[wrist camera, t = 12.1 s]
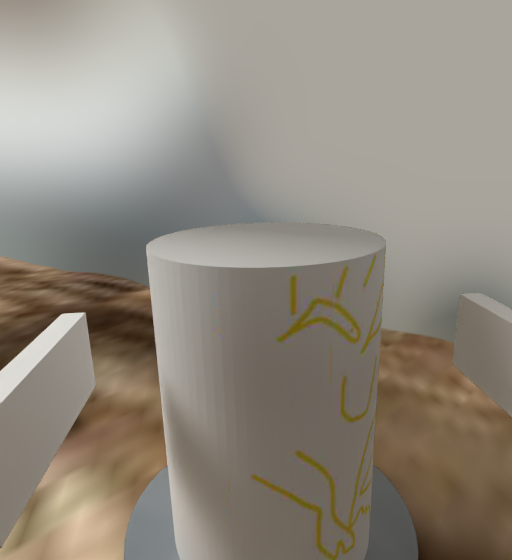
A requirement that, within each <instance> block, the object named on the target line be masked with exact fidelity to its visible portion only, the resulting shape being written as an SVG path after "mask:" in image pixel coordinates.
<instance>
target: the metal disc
mask: <svg viewBox="0 0 512 560" xmlns="http://www.w3.org/2000/svg"><path fill="white" fill-rule="evenodd" d="M124 560H180V557H179V555H178V552H177V548H176V543H175V534H174V524H173V514H172V504H171V494H170V484H169V473H168V465H167V466H166V467H165V468H164V469H163V470H162V471H161V472H159V473H158V475H157V476H156V477H155V478H154V479H153V480H152V481H151V482H150V484H149V485H148V486H147V488H146V489H145V491H144V492H143V493H142V495H141V496H140V498H139V500H138V502H137V504H136V506H135V508H134V510H133V512H132V515H131V518H130V521H129V524H128V527H127V532H126V538H125V549H124ZM364 560H418V545H417V535H416V532H415V528H414V524H413V520H412V518H411V515H410V513H409V511H408V508H407V506H406V504H405V502H404V501H403V499H402V497H401V496H400V494H399V492H398V491H397V490H396V488H395V487H394V486H393V485H392V483H391V482H390V481H389V480H388V478H387V477H386V476H385V475H384V474H383V473H382V472H381V471H380V470H379V469H377V468H376V467H375V466H374V465H373V475H372V493H371V510H370V527H369V542H368V548H367V552H366V555H365V558H364Z"/></svg>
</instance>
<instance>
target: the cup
mask: <svg viewBox="0 0 512 560" xmlns="http://www.w3.org/2000/svg"><path fill="white" fill-rule="evenodd" d="M385 251H386V241H385V239H384V238H383V237H382V236H380V235H378V234H375V233H372V232H370V231H366V230H362V229H357V228H352V227H345V226H338V225H328V224H314V223H281V222H279V223H244V224H231V225H220V226H211V227H202V228H196V229H190V230H184V231H180V232H175V233H171V234H168V235H164V236H161V237H159V238H156V239H154V240H152V241H151V242H149V243H148V244H147V246H146V252H147V262H148V271H149V281H150V292H151V302H152V312H153V322H154V332H155V342H156V353H157V363H158V373H159V383H160V393H161V403H162V413H163V423H164V433H165V443H166V453H167V463H168V473H169V484H170V494H171V504H172V514H173V524H174V534H175V543H176V548H177V552H178V555H179V557H180V560H364V558H365V555H366V552H367V548H368V542H369V527H370V510H371V493H372V475H373V458H374V441H375V424H376V406H377V389H378V372H379V355H380V337H381V320H382V303H383V286H384V267H385Z"/></svg>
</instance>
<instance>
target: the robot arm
mask: <svg viewBox="0 0 512 560" xmlns="http://www.w3.org/2000/svg"><path fill="white" fill-rule="evenodd" d="M456 327H457V328H456V336H455V345H454V354H453V365H454V366H455V367H456V368H457V369H459V370H460V371H461V372H462V373H463V374H464V375H465V376H466V377H468V378H469V379H470V380H471V381H472V382H473V383H474V384H475V385H476V386H478V387H479V388H480V389H481V390H482V391H483V392H484V393H485V394H487V395H488V396H489V397H490V398H491V399H492V400H493V401H494V402H495V403H497V404H498V405H499V406H500V407H501V408H502V409H503V410H504V411H506V412H507V413H508V414H509V415H510V416H511V417H512V309H511V308H509V307H507V306H505V305H503V304H501V303H499V302H497V301H495V300H493V299H491V298H489V297H487V296H485V295H483V294H482V293H471V294H460V299H459V308H458V317H457V326H456ZM95 386H96V382H95V375H94V368H93V361H92V355H91V348H90V341H89V334H88V327H87V320H86V314H85V313H67V314H61V315H60V316H59V317H58V318H57V319H56V320H55V321H54V322H53V323H52V324H51V325H50V326H48V327H47V328H46V329H45V330H44V331H43V332H42V333H41V334H40V335H39V336H38V337H37V338H36V339H34V340H33V341H32V342H31V343H30V344H29V345H28V346H27V347H26V348H25V349H24V350H23V351H22V352H20V353H19V354H18V355H17V356H16V357H15V358H14V359H13V360H12V361H11V362H10V363H9V364H8V365H6V366H5V367H4V368H3V369H2V370H1V371H0V548H2V546H3V544H4V542H5V541H6V539H7V537H8V536H9V534H10V532H11V530H12V529H13V527H14V525H15V524H16V522H17V520H18V518H19V517H20V515H21V513H22V511H23V510H24V508H25V506H26V505H27V503H28V501H29V499H30V498H31V496H32V494H33V493H34V491H35V489H36V487H37V486H38V484H39V482H40V481H41V479H42V477H43V475H44V474H45V472H46V470H47V469H48V467H49V465H50V463H51V462H52V460H53V458H54V457H55V455H56V453H57V451H58V450H59V448H60V446H61V444H62V443H63V441H64V439H65V438H66V436H67V434H68V432H69V431H70V429H71V427H72V426H73V424H74V422H75V420H76V419H77V417H78V415H79V414H80V412H81V410H82V408H83V407H84V405H85V403H86V402H87V400H88V398H89V396H90V395H91V393H92V391H93V389H94V388H95Z"/></svg>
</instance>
